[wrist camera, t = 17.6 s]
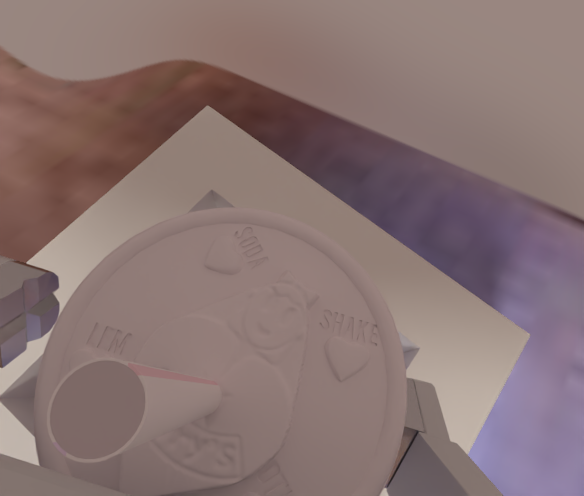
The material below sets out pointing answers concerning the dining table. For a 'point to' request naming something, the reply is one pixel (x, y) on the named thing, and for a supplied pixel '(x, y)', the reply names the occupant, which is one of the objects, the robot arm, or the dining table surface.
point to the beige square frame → (310, 210)
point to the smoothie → (224, 365)
